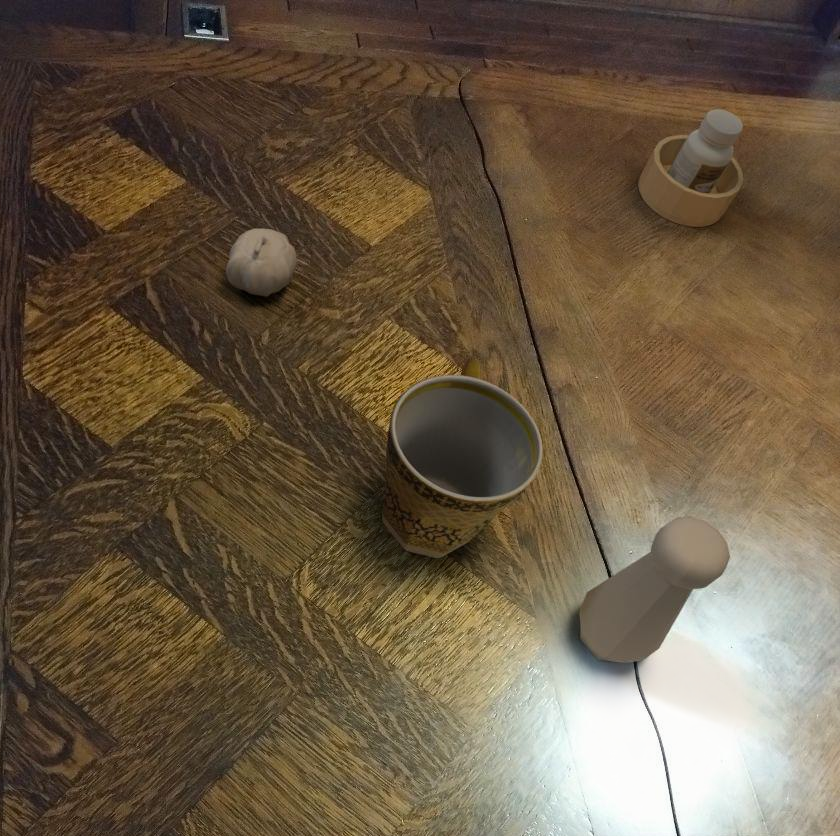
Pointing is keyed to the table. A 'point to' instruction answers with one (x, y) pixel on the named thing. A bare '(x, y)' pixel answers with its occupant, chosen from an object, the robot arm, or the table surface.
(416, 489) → the ceramic cup
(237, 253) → the garlic
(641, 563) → the salt shaker
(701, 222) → the tan round bowl
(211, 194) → the table surface
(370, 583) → the table surface
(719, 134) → the pill bottle
